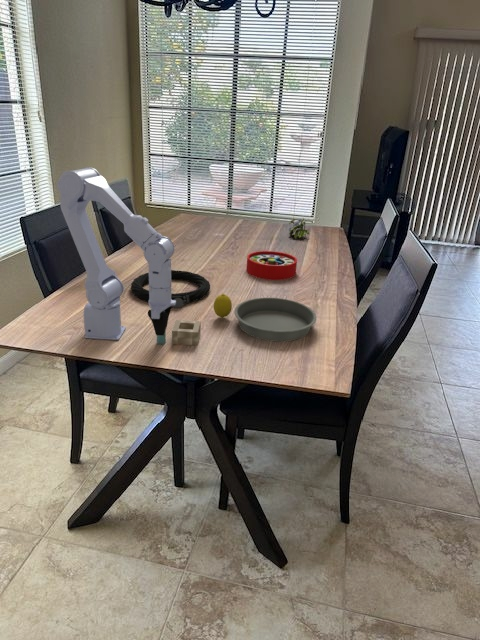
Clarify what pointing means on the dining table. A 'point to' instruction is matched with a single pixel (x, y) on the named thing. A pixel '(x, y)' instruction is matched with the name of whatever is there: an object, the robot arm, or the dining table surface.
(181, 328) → the beige socket block
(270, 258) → the toy clock
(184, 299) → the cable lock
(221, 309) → the lemon
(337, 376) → the dining table surface
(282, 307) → the cake pan
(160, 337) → the peg
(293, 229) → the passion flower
